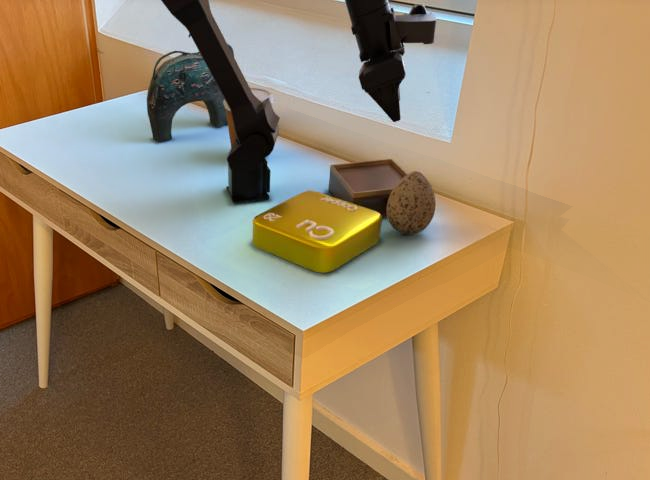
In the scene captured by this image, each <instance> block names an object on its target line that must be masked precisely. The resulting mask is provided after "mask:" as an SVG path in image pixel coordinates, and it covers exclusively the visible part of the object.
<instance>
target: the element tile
mask: <svg viewBox="0 0 650 480" xmlns="http://www.w3.org/2000/svg"><path fill="white" fill-rule="evenodd" d="M382 222H383V217H382V216H381V214H380V213H378V212H376V211H374V210H371V209H368V208H365V207H362V206H358V205H355V204H352V203H349V202H346V201H343V200H340V199H337V198H334V197H333V196H332V195H329V194H325V193H322V192H319V191H315V190H311V189H309V190H305V191H302V192H299V193H298V194H296V195H294V196H292V197H290V198H289V199H287V200H284V201H282V202H280V203H278V204H276V205H274V206H272V207H270V208H269V209H266V210H265V211H263V212H261V213H259V214H257V215H255V216H254V217H253V218H252V244H253V246H254V247H256V248H257V249H259V250H261V251H264V252H266V253H269V254H271V255H274V256H276V257H277V258H281V259H283V260H286V261H289V262H290V263H292V264H296V265H298V266H299V267H303V268H305V269H307V270H310V271H312V272H316V273H321V274H325V273H326V274H327V273H331V272H333V271H335V270H337V269H338V268H339V267H341V266H344V264H346V263H348V262H349V261H351V260H353V259H354V258H356V257H357V256H359V255H360V254H361V253H363V252H365V251H367V250H368V249H369V248H372V247H373V246H374V245H376V244H377V243H378V242H379V240H380V236H381V230H382Z"/></svg>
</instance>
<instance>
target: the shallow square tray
mask: <svg viewBox="0 0 650 480" xmlns="http://www.w3.org/2000/svg"><path fill="white" fill-rule="evenodd" d="M407 174H408V172H407V171H406V170H404V168H403V167H401V165H400V164H398V163H397V161H395V159H393V157H392V158H391V157H390V158H383V159H382V158H381V159H374V160H372V159H371V160H363V161H353V162H344V163H336V164H330V165H329V179H328V193H329V194H330V196H331V197H334V198H337V199H340V200H343V201H346V202H349V203H352V204H355V205H358V206H362V207H365V208H368V209H371V210H374V211H376V212H378V213H380V214H381V216H382V218H387V211H386V208H387V202H388V198H389V196H390V194H391V192H392V190H393V188H394V187H395V186H396V184H397V183H398V182H399V181H400V180H401V179H402V178H403V177H405V176H406V175H407Z"/></svg>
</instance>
